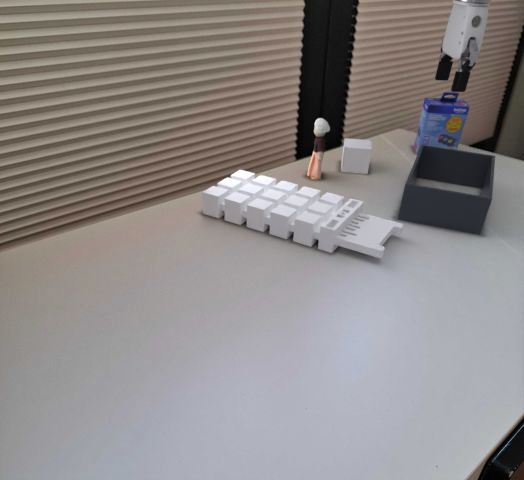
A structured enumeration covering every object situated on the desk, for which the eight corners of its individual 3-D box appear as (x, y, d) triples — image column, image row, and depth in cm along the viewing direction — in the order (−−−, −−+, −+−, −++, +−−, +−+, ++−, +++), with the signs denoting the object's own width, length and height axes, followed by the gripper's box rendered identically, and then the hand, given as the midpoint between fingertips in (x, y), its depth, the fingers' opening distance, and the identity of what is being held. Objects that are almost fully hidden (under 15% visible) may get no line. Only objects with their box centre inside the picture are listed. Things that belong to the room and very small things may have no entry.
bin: (413, 178, 114) (421, 144, 109) (483, 190, 110) (495, 155, 106) (396, 221, 98) (405, 184, 93) (478, 237, 94) (492, 199, 89)
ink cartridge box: (416, 156, 125) (430, 92, 115) (411, 148, 129) (425, 86, 119) (456, 158, 125) (474, 94, 115) (450, 150, 129) (467, 88, 119)
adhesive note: (366, 166, 119) (371, 140, 115) (367, 176, 114) (372, 149, 110) (340, 164, 119) (344, 138, 115) (340, 174, 115) (344, 147, 111)
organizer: (240, 169, 102) (407, 213, 90) (240, 192, 105) (402, 237, 93) (202, 192, 94) (382, 244, 81) (203, 216, 97) (377, 270, 84)
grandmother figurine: (303, 172, 115) (309, 113, 106) (320, 172, 115) (326, 113, 107) (310, 186, 109) (315, 124, 101) (327, 186, 109) (334, 124, 101)
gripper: (509, 2, 99) (480, 96, 111) (472, -9, 112) (450, 76, 124) (473, 1, 99) (448, 96, 110) (440, -11, 111) (420, 75, 123)
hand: (449, 85), depth 117 cm, fingers open, 9 cm apart
